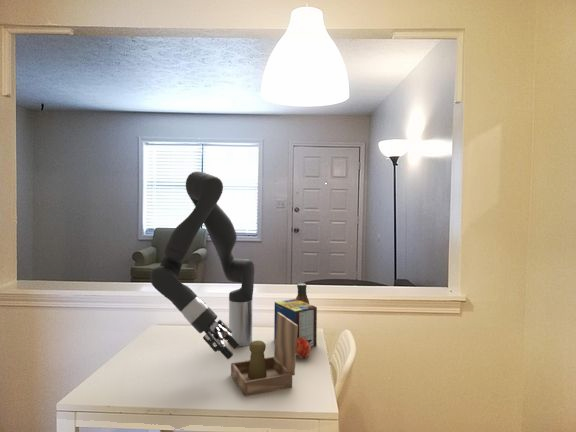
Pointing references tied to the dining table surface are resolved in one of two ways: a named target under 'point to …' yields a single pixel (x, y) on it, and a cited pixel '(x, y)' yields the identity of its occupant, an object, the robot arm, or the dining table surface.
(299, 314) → the protein box
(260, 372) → the olive tapered rounded piece
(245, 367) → the walnut box
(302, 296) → the sauce bottle
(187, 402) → the dining table surface
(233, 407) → the dining table surface
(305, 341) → the pomegranate
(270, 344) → the dining table surface
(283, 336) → the box lid
